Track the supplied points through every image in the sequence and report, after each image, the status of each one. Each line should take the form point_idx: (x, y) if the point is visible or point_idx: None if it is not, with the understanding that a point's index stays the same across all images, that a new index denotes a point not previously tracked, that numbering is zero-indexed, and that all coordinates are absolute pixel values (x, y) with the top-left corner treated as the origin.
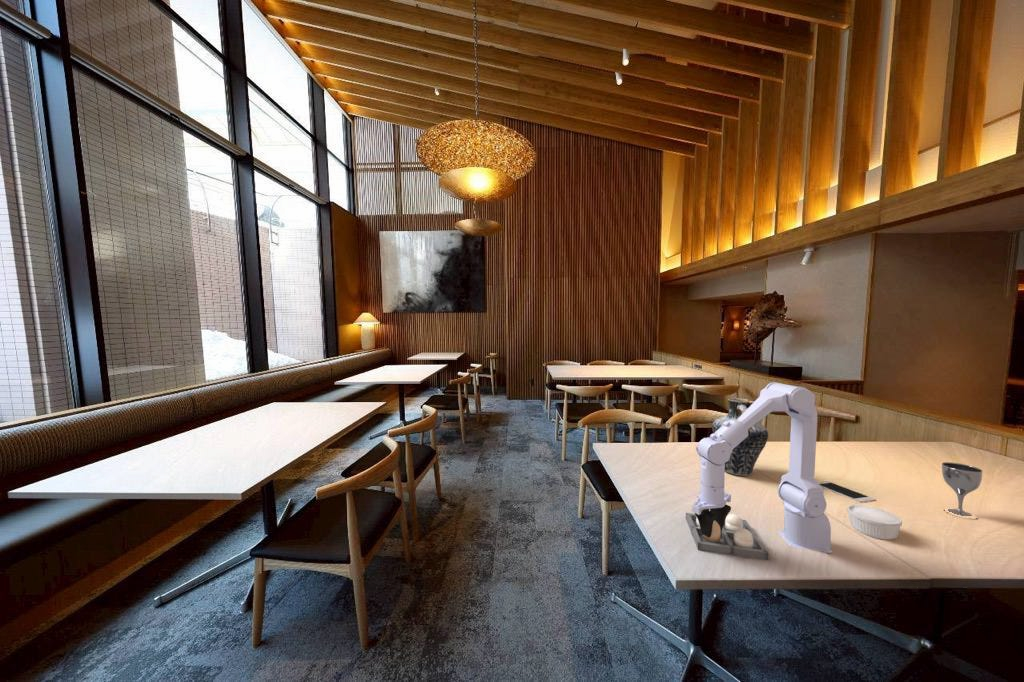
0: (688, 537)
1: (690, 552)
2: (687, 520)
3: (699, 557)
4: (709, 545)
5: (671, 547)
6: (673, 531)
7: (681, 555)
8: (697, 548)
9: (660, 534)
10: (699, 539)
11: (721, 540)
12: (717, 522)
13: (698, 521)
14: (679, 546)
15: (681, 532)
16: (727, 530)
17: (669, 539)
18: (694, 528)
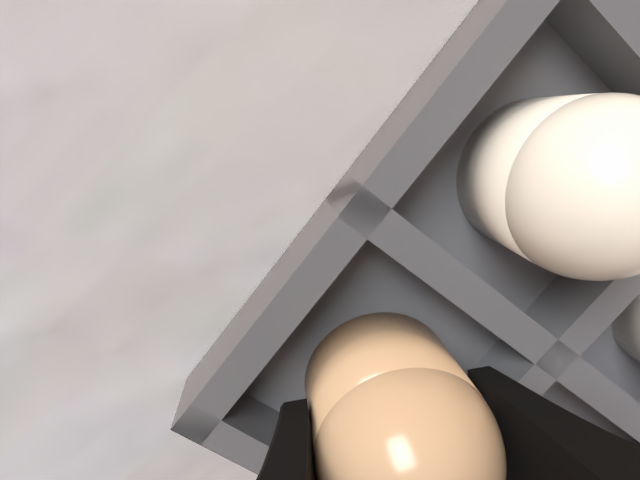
0: (279, 205)
1: (125, 366)
2: (478, 19)
3: (146, 427)
4: (251, 467)
5: (7, 267)
6: (220, 67)
7: (20, 373)
8: (186, 387)
9: (39, 53)
10: (233, 393)
11: (469, 358)
12: (521, 473)
13: (495, 175)
14: (93, 279)
15: (284, 115)
16: (630, 305)
17: (75, 163)
18: (351, 238)
